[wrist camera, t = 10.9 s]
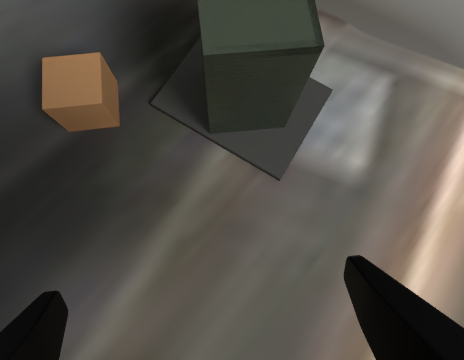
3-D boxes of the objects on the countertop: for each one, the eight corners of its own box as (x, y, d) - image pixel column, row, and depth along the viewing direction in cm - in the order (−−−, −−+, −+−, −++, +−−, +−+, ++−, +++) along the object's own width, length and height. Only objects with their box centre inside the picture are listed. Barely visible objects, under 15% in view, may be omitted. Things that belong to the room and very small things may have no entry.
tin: (284, 127, 25) (324, 45, 16) (210, 134, 25) (203, 55, 15) (273, 61, 27) (304, -51, 17) (203, 67, 26) (193, -44, 17)
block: (120, 126, 26) (102, 103, 22) (69, 132, 25) (41, 109, 21) (117, 82, 27) (100, 52, 23) (68, 87, 26) (42, 57, 22)
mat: (330, 92, 27) (332, 89, 26) (279, 180, 25) (280, 179, 24) (210, 27, 28) (210, 23, 28) (151, 106, 26) (150, 103, 26)
